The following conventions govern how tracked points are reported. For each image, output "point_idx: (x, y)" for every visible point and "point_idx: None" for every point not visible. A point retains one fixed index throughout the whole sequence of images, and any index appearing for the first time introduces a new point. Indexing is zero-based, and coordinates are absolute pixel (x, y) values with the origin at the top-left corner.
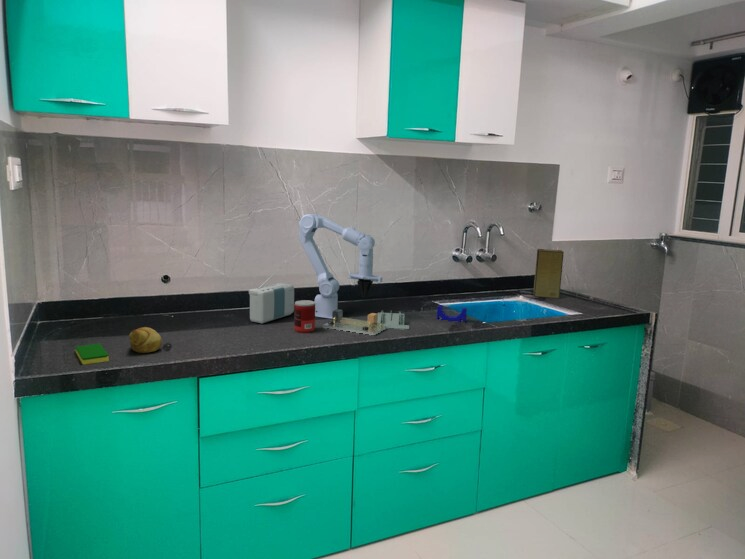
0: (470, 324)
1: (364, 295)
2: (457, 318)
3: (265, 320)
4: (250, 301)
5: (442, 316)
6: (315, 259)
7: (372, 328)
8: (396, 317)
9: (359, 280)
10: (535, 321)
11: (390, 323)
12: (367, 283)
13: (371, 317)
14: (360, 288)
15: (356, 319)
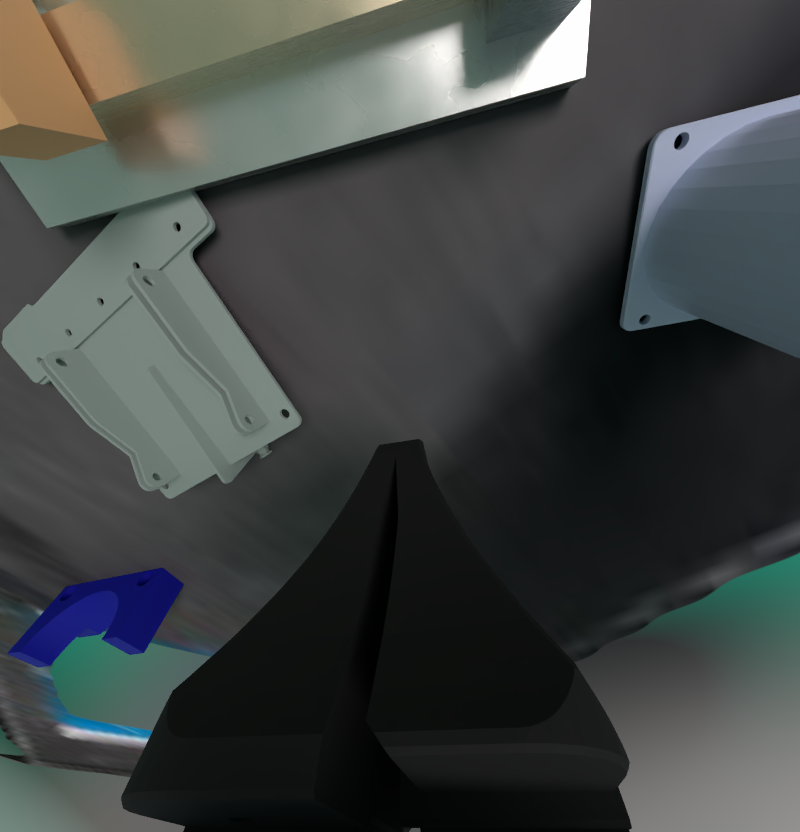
0: (31, 581)
1: (377, 463)
2: (77, 597)
3: None
4: None
5: (129, 589)
6: None
7: None
8: (164, 432)
9: (577, 824)
10: (15, 675)
11: (127, 332)
12: (161, 724)
13: None
14: (449, 535)
15: (267, 45)
